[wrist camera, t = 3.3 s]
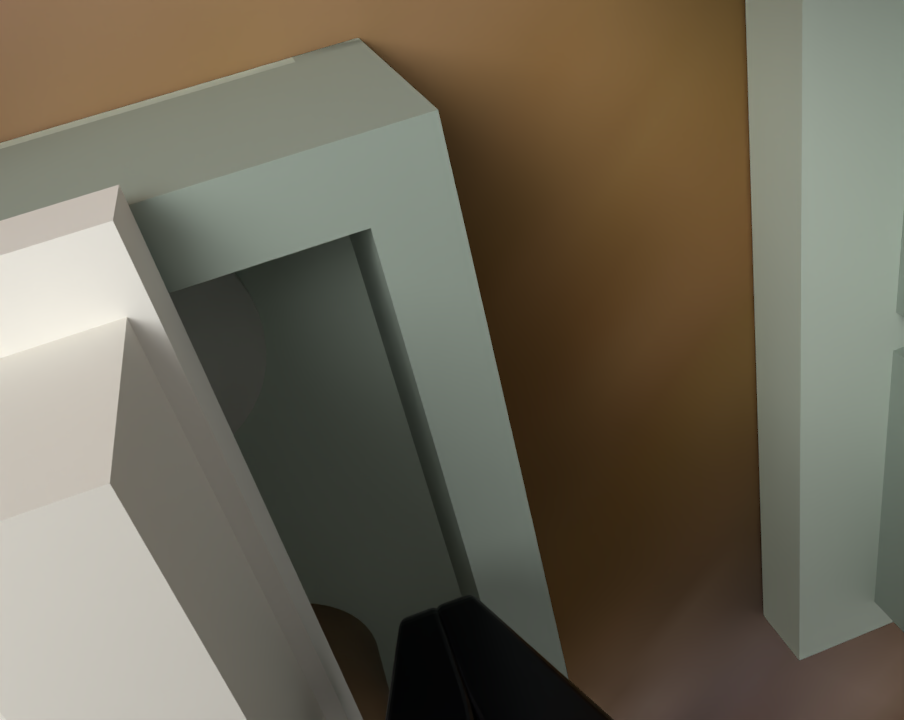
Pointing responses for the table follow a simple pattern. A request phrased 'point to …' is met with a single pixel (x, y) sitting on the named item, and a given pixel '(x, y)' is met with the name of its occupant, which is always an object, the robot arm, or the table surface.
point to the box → (328, 332)
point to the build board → (829, 313)
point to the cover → (132, 502)
